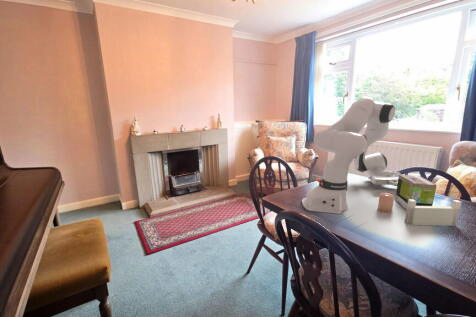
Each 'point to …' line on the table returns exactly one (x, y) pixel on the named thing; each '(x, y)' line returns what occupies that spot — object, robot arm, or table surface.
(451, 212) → the display rail
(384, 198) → the tan small cylinder
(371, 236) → the table surface
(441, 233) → the table surface
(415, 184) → the tea box
